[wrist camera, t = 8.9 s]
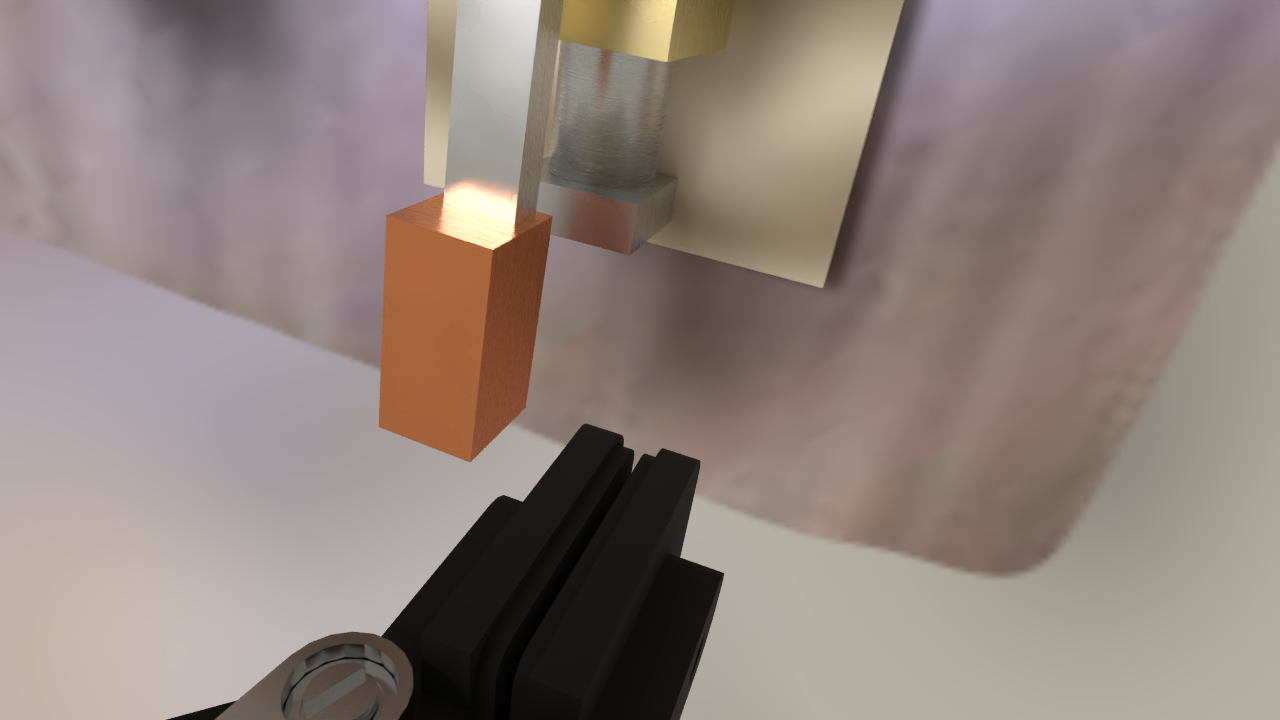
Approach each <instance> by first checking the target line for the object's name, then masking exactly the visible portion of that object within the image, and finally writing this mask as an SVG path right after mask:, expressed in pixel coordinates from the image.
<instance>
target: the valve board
mask: <svg viewBox="0 0 1280 720" xmlns="http://www.w3.org/2000/svg"><path fill="white" fill-rule="evenodd" d="M905 1H906V0H735V3H734V9H733V14H732V19H731V24H730V30H729V35H728V40H727V45H726V49H722V50H718V51H714V52H709V53H705V54H701V55H696V56H692V57H688V58H683V59H679V60H675V61H674V66H673V72H672V78H671V84H670V90H669V96H668V103H667V109H666V115H665V121H664V127H663V133H662V139H661V146H660V152H659V158H658V164H657V170H656V172H659V173H663V174H667V175H671V176H675V177H679V179H678V184H677V190H676V195H675V201H674V207H673V212H672V218H671V221H670V222H669V223H668V224H667V225H666V226H664V227H663V228H662V229H661V230H660V231H658V232H657V233H656V234H655V235H654V236H652V237H651V238H650V239H649V240H648V241H646V242H649V243H653V244H656V245H660V246H664V247H668V248H672V249H676V250H679V251H683V252H687V253H691V254H695V255H698V256H702V257H706V258H710V259H714V260H717V261H721V262H725V263H729V264H733V265H736V266H740V267H744V268H748V269H752V270H756V271H759V272H763V273H767V274H771V275H775V276H778V277H782V278H786V279H790V280H794V281H797V282H801V283H805V284H809V285H813V286H817V287H820V288H823V286H824V283H825V281H826V278H827V276H828V272H829V269H830V265H831V262H832V258H833V255H834V251H835V248H836V244H837V241H838V237H839V234H840V230H841V226H842V223H843V219H844V216H845V212H846V209H847V205H848V202H849V198H850V195H851V191H852V188H853V184H854V181H855V177H856V174H857V170H858V167H859V163H860V159H861V156H862V152H863V149H864V145H865V142H866V138H867V135H868V131H869V128H870V124H871V121H872V117H873V114H874V110H875V107H876V103H877V100H878V96H879V92H880V89H881V85H882V82H883V78H884V75H885V71H886V68H887V64H888V61H889V57H890V54H891V50H892V47H893V43H894V40H895V36H896V33H897V29H898V25H899V22H900V18H901V15H902V11H903V8H904V4H905ZM457 7H458V0H428V20H427V64H426V108H425V152H424V184H428V185H432V186H435V187H439V188H443V189H444V188H445V174H446V160H447V147H448V133H449V119H450V105H451V91H452V77H453V64H454V50H455V36H456V22H457ZM560 42H561V40H559V41H558V48H557V56H556V64H555V71H554V79H553V86H552V94H551V102H550V109H549V117H548V124H547V132H546V140H545V147H544V155H543V158H545V157H548V156H549V155H550V145H551V135H552V125H553V114H554V104H555V94H556V83H557V73H558V63H559V53H560Z"/></svg>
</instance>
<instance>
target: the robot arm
mask: <svg viewBox="0 0 1280 720" xmlns="http://www.w3.org/2000/svg"><path fill="white" fill-rule="evenodd" d="M623 444H624V439H623V436H622V435H620V434H617V433H614V432H611V431H608V430H604V429H601V428H598V427H595V426H592V425H589V424H583V425H582V426H581V427H580V429H579V430H578V431H577V432H576V434H575V435H574V436H573V438H572V439H571V440H570V442H569V443H568V444H567V445H566V447H565V448H564V449H563V451H562V452H561V453H560V455H559V456H558V457H557V459H556V460H555V461H554V462H553V464H552V465H551V466H550V468H549V469H548V470H547V471H546V473H545V474H544V475H543V477H542V478H541V479H540V480H539V482H538V483H537V485H536V486H535V487H534V488H533V490H532V491H531V492H530V493H529V495H528V496H527V497H526V499H525V500H524V501H523V502H522V501H519V500H516V499H513V498H510V497H507V496H505V495H502V496H500V497H498V498H497V499H496V500H495V501H494V502H493V503H491V504H490V506H489V507H488V508H487V509H486V510H485V512H484V513H483V514H482V515H481V516H480V518H479V519H478V520H477V521H476V523H475V524H474V525H473V526H472V527H471V529H470V530H469V531H468V532H467V533H466V535H465V536H464V537H463V538H462V540H461V541H460V542H459V543H458V544H457V546H456V547H455V548H454V549H453V551H452V552H451V553H450V554H449V556H447V558H446V559H445V560H444V562H443V563H442V564H441V565H440V566H439V567H438V569H437V570H436V571H435V572H434V573H433V575H432V576H431V577H430V578H429V580H428V581H427V582H426V583H425V584H424V585H423V587H422V588H421V589H420V591H419V592H418V593H417V594H416V595H415V596H414V598H413V599H412V600H411V601H410V602H409V604H408V605H407V606H406V607H405V609H404V610H403V611H402V612H401V613H400V615H399V616H398V617H397V618H396V619H395V621H394V622H393V623H392V624H391V626H390V627H389V628H388V629H387V630H386V632H385V633H384V634H383V635H382V636H381V637H380V636H377V635H375V634H370V633H359V632H347V633H340V634H333V635H329V636H326V637H324V638H321V639H319V640H316V641H313V642H311V643H309V644H307V645H306V646H304V647H303V648H301V649H300V650H298V651H297V652H295V653H294V654H292V655H291V656H289V657H288V658H287V659H286V660H285V661H283V662H282V663H281V664H280V665H279V666H277V667H276V668H275V669H274V670H273V671H272V672H270V673H269V674H268V675H267V676H266V677H265V678H263V679H262V680H261V681H260V682H259V683H257V684H256V685H255V686H254V687H253V688H252V689H250V690H249V691H248V692H247V693H245V694H244V695H243V696H242V697H241V698H240V699H238V700H237V701H233V702H230V703H226V704H222V705H219V706H216V707H211V708H208V709H204V710H200V711H197V712H193V713H189V714H185V715H182V716H178V717H175V718H171V719H167V720H680V716H681V714H682V711H683V708H684V705H685V702H686V699H687V697H688V694H689V691H690V688H691V685H692V682H693V679H694V676H695V673H696V671H697V667H698V665H699V661H700V658H701V655H702V652H703V649H704V646H705V643H706V639H707V636H708V632H709V629H710V626H711V623H712V619H713V616H714V612H715V608H716V604H717V600H718V597H719V593H720V589H721V586H722V582H723V576H724V573H722V572H719V571H716V570H714V569H710V568H708V567H705V566H702V565H700V564H697V563H694V562H691V561H688V560H685V559H683V558H680V556H681V551H682V547H683V542H684V538H685V533H686V528H687V524H688V520H689V515H690V511H691V506H692V502H693V497H694V493H695V488H696V484H697V479H698V475H699V470H700V460H697V459H694V458H691V457H688V456H685V455H682V454H679V453H676V452H673V451H670V450H666V449H663V448H662V449H661V450H660V451H659V453H658V454H657V456H656V457H654V456H651V455H648V454H643V455H642V457H641V458H640V460H639V462H638V463H637V465H636V467H635V468H634V470H633V472H632V466H633V460H634V450H632V449H629V448H626V447H623ZM631 472H632V473H631Z"/></svg>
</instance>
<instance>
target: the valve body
mask: <svg viewBox="0 0 1280 720" xmlns="http://www.w3.org/2000/svg"><path fill="white" fill-rule="evenodd" d="M734 3H735V0H564V3H563V10H562V18H561V26H560V33H559V40H561V42H560V53H559V63H558V73H557V83H556V94H555V104H554V114H553V125H552V135H551V145H550V155H549V156H548V157H545V158H543V162H542V170H541V177H540V185H539V193H538V200H537V208H536V211H538V212H541V213H545V214H548V215H551V216H553V219H552V226H551V233H550V234H552V235H556V236H560V237H563V238H567V239H571V240H574V241H578V242H582V243H586V244H589V245H593V246H597V247H601V248H604V249H608V250H612V251H616V252H619V253H623V254H627V255H631V254H632V253H633V252H634V251H636V250H637V249H638V248H639V247H640V246H642V245H643V244H644V243H645V242H646V241H648V240H649V239H650V238H651V237H652V236H654V235H655V234H656V233H657V232H658V231H660V230H661V229H662V228H663V227H664V226H666V225H667V224H668V223H669V222H670V221H671V218H672V212H673V207H674V201H675V195H676V190H677V184H678V179H679V177H675V176H671V175H667V174H663V173H659V172H656V170H657V164H658V158H659V152H660V146H661V139H662V133H663V127H664V121H665V115H666V109H667V103H668V96H669V90H670V84H671V78H672V72H673V66H674V61H675V60H679V59H683V58H688V57H692V56H696V55H701V54H705V53H709V52H714V51H718V50H722V49H726V45H727V40H728V35H729V30H730V24H731V19H732V14H733V9H734ZM457 8H458V7H457Z"/></svg>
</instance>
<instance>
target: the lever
mask: <svg viewBox="0 0 1280 720" xmlns="http://www.w3.org/2000/svg"><path fill="white" fill-rule="evenodd" d="M563 3H564V0H458V8H457V22H456V36H455V50H454V64H453V77H452V91H451V105H450V119H449V133H448V147H447V160H446V174H445V188H444V193H443V194H440V195H437V196H435V197H432V198H430V199H427V200H425V201H422V202H420V203H417V204H414V205H412V206H409V207H407V208H404V209H402V210H399V211H397V212H394V213H391V214H389V215H387V216H386V243H385V270H384V298H383V325H382V352H381V382H380V408H379V427H380V428H383V429H386V430H388V431H391V432H393V433H396V434H398V435H401V436H404V437H406V438H409V439H411V440H414V441H417V442H419V443H422V444H424V445H427V446H429V447H432V448H435V449H437V450H440V451H442V452H445V453H447V454H450V455H453V456H455V457H458V458H460V459H463V460H465V461H468V462H471V461H472V460H473V459H474V458H475V457H476V456H477V455H478V454H479V453H480V452H481V451H482V450H483V449H484V448H485V447H486V446H487V445H488V444H489V443H490V442H491V441H492V440H493V439H494V438H495V437H496V436H497V435H498V434H499V433H500V432H501V431H502V430H503V429H504V428H505V427H506V426H507V425H508V424H509V423H510V422H511V421H512V420H513V419H514V418H515V417H517V416H518V415H519V414H520V413H521V412H522V411H523V410H524V409H525V408H526V401H527V394H528V387H529V380H530V373H531V366H532V359H533V352H534V345H535V338H536V331H537V324H538V317H539V310H540V303H541V296H542V289H543V282H544V275H545V268H546V261H547V254H548V247H549V240H550V233H551V226H552V219H553V216H551V215H548V214H545V213H541V212H538V211H536V208H537V200H538V193H539V185H540V177H541V170H542V162H543V155H544V147H545V140H546V132H547V124H548V117H549V109H550V102H551V94H552V86H553V79H554V71H555V64H556V56H557V48H558V41H559V33H560V26H561V18H562V10H563Z"/></svg>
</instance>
